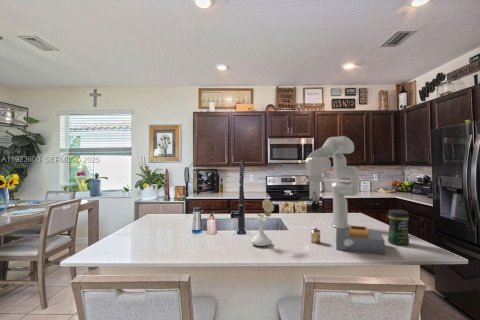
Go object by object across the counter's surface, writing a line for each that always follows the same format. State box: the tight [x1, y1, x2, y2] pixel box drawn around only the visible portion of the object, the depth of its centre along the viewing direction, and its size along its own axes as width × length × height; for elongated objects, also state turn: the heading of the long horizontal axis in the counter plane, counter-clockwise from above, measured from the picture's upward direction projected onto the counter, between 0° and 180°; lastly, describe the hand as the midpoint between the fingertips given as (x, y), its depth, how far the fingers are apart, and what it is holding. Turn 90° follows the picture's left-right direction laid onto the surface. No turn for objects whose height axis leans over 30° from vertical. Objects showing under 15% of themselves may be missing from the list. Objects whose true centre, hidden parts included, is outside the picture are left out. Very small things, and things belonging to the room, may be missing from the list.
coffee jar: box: [387, 209, 410, 246], centre depth 141 cm, size 10×8×19 cm
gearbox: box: [335, 224, 386, 256], centre depth 136 cm, size 19×22×10 cm
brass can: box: [310, 227, 321, 245], centre depth 144 cm, size 5×5×8 cm
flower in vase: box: [250, 198, 275, 247], centre depth 141 cm, size 13×11×25 cm
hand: (315, 209), depth 144 cm, fingers open, 9 cm apart
